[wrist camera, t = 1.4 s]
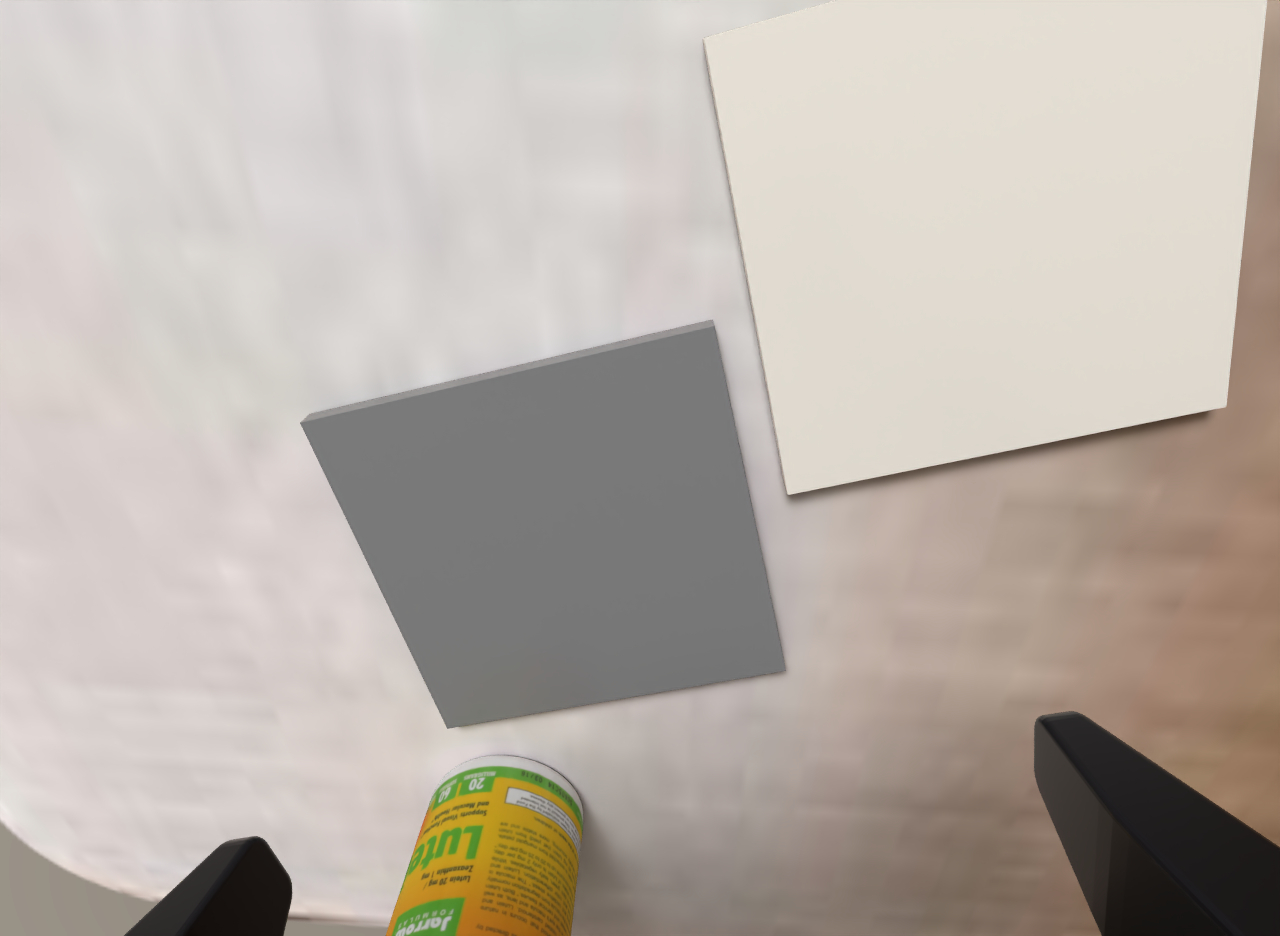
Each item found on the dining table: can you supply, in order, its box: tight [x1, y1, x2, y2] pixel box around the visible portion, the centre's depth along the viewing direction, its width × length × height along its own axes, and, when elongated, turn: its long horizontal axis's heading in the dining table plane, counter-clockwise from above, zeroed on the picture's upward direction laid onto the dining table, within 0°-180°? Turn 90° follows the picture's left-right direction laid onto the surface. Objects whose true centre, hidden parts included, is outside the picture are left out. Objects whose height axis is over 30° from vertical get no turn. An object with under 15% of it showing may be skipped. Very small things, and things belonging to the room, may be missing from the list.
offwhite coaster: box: [703, 0, 1267, 495], centre depth 17 cm, size 11×11×1 cm
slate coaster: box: [300, 320, 786, 729], centre depth 21 cm, size 11×11×1 cm
